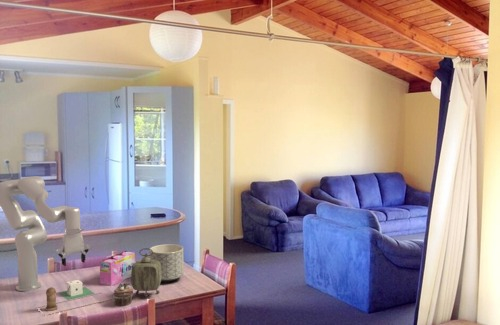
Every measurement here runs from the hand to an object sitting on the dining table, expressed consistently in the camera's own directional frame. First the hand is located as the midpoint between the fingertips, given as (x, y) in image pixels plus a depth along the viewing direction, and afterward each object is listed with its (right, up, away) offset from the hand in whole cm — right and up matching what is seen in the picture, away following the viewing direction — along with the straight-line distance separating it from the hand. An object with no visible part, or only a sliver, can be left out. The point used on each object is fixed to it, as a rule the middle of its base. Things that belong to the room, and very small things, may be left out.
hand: (73, 263), depth 245 cm
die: (0, -16, +1) cm, 16 cm away
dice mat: (+1, -16, +2) cm, 16 cm away
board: (+5, -17, -12) cm, 22 cm away
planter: (+44, -15, +25) cm, 53 cm away
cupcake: (+29, -18, -11) cm, 35 cm away
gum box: (+16, -15, +25) cm, 33 cm away
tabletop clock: (+38, -17, -1) cm, 42 cm away
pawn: (-3, -18, -19) cm, 26 cm away
